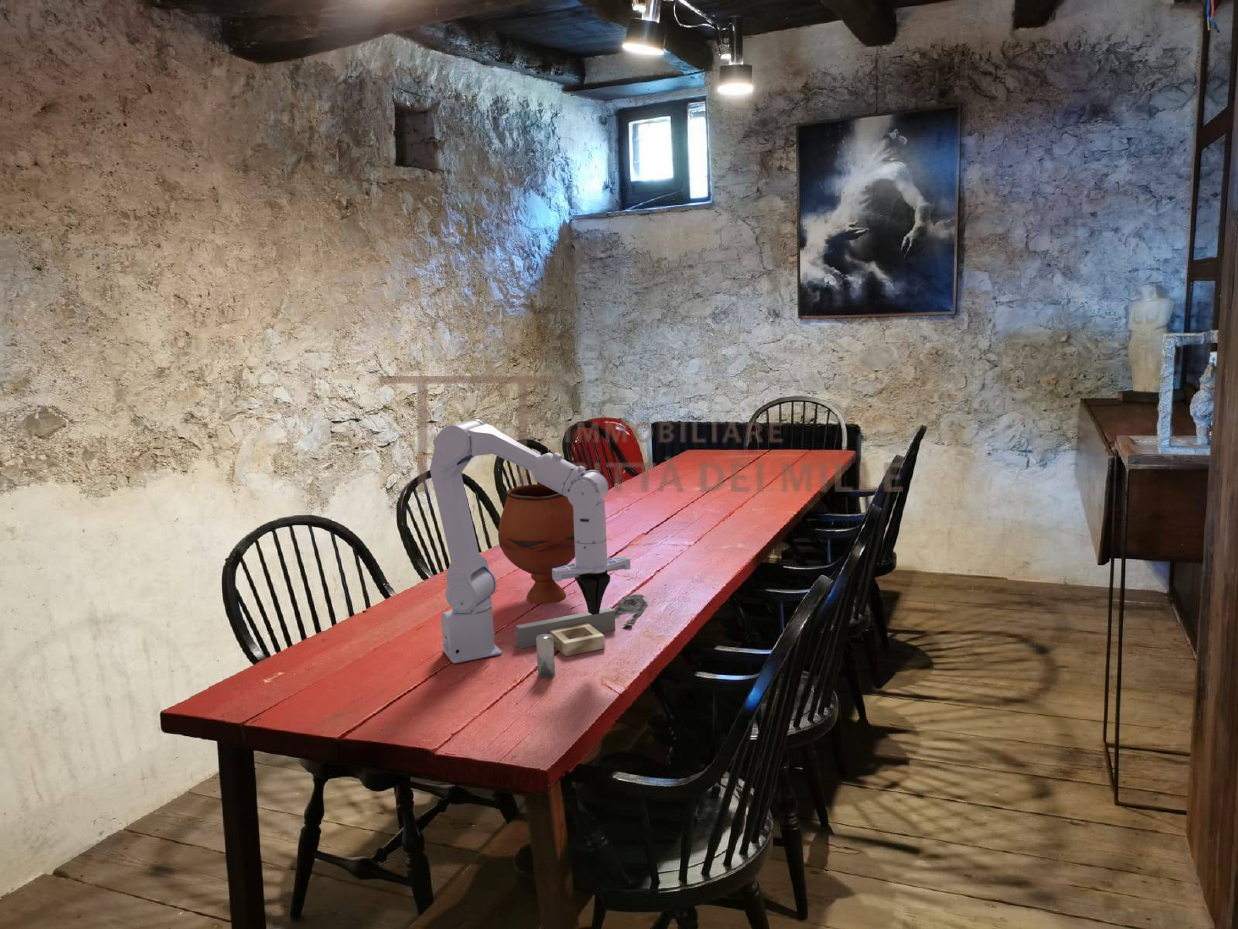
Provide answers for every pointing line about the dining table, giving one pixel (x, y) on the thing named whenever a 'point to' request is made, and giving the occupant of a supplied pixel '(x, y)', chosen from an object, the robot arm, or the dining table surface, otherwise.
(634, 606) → the driftwood
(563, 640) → the socket block
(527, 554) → the goblet
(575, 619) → the backstop wall
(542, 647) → the dowel
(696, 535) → the dining table surface
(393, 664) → the dining table surface
